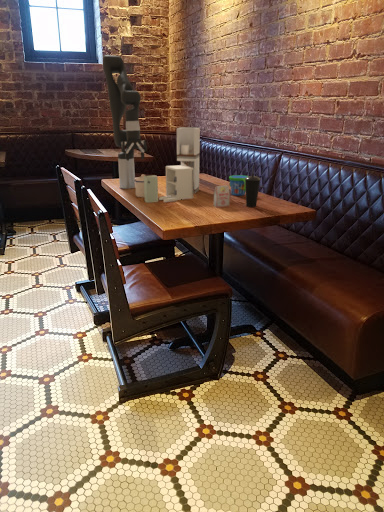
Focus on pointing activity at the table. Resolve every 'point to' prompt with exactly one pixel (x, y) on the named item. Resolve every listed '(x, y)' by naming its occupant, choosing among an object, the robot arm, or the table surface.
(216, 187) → the white milk carton
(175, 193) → the cabinet
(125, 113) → the robot arm
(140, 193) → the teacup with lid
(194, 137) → the display case
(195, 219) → the table surface
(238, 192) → the snack cup
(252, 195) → the drinking cup
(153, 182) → the door
